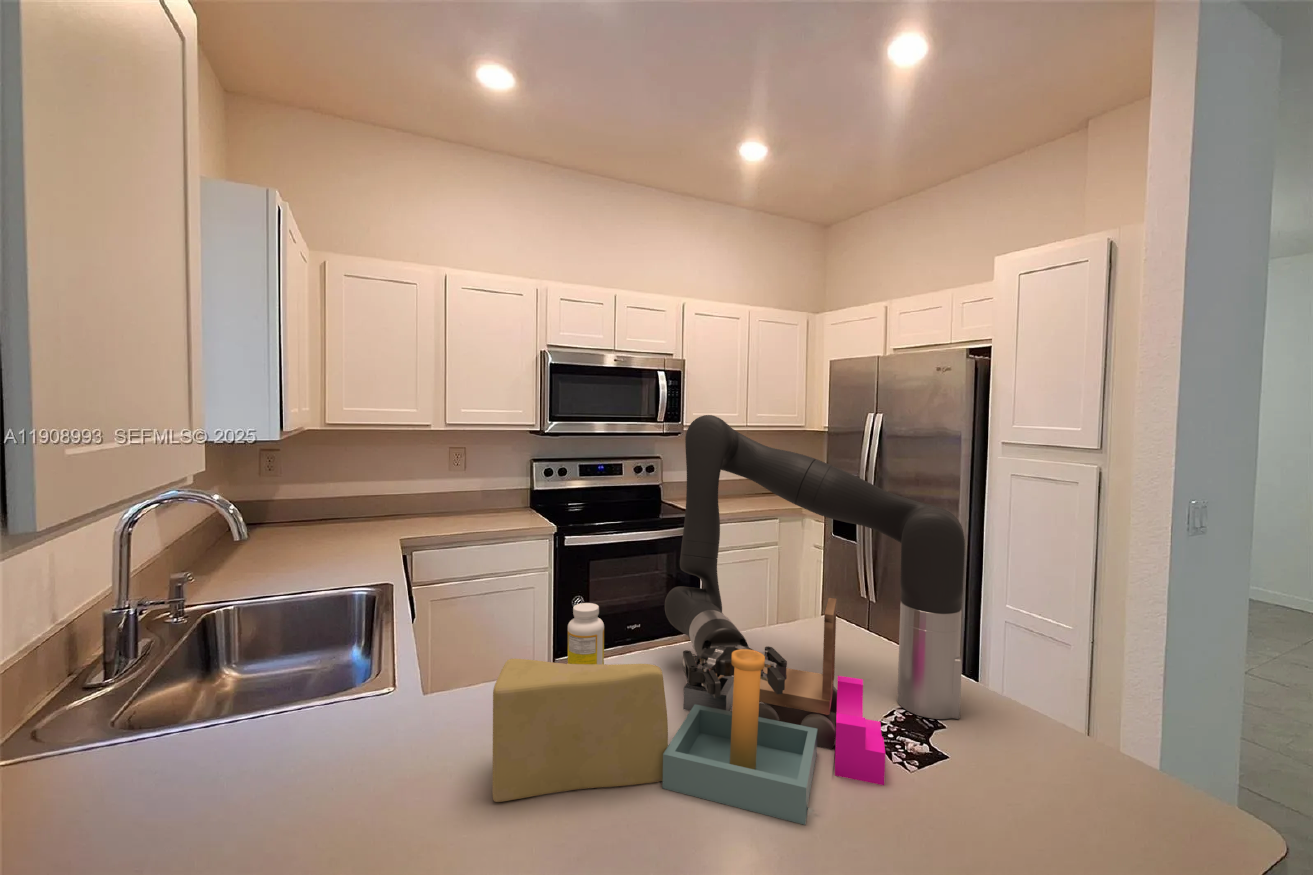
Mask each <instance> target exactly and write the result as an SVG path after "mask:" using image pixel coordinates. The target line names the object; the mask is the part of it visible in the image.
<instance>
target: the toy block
mask: <svg viewBox="0 0 1313 875" xmlns="http://www.w3.org/2000/svg"><path fill="white" fill-rule="evenodd" d="M836 684H837V686H836V689H837V712H836V713H835V714H836V717H835V718H836V719H835V720H836V721H835V725H836V726H835V731H836V737H835V750H834V776H836V777H840V778H845V779H850V780H854V781H855V780H856V781H860V782H864V783H865V782H866V783H870V784H876V785H880V786H885V775H886V774H885V772H886V769H885V768H886V748H885V740H884V736H882V725H881V721H880V720H879V721H878V720H873V719H867V718H866V717H865V716H863V715H864V714H863V713H864V712H863V710H864V707H863V706H864V705H863V704H864V701H863V700H864V693H863V692H864V679H863V678H858V677H850V676H843V675H837V683H836Z"/></svg>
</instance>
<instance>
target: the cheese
mask: <svg viewBox="0 0 1313 875" xmlns="http://www.w3.org/2000/svg"><path fill="white" fill-rule="evenodd" d="M668 720H669V719H668V710H667V701H666V693H665V682H664V675H663V671H662V668H660V667H659V666H658V665H655V664H651V663H650V664H649V663H627V664H626V663H625V664H624V663H623V664H621V663H620V664H619V663H617V664H615V663H614V664H612V663H611V664H608V663H607V664H605V663H604V664H568V663H562V662H551V661H544V660H535V659H525V658H509V659H507V661H505V663H504V664H503V666H502V669H501V670H500V673H499V675H498V677H497V679H496V682H495V683H494V687H493V691H492V780H491V781H492V791H491V792H492V800H493V801H494V802H495V803H501V802H502V803H503V802H508V801H513V800H520V799H525V798H531V797H537V796H542V795H549V794H554V793H562V792H567V791H575V790H576V791H577V790H585V789H587V790H588V789H597V788H615V787H628V786H633V785H636V786H637V785H642V784H650V783H651V784H653V783H659V782H663V754H664V752H665V750H666V749H667V747H668V746H669V725H668V724H669V722H668Z"/></svg>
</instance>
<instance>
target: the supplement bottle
mask: <svg viewBox="0 0 1313 875" xmlns="http://www.w3.org/2000/svg"><path fill="white" fill-rule="evenodd" d="M572 612H573V613H572V614H573V617H574V618H572V619H571V620H569V622H568V624H567V664H605V624H604V622H603V620H602V619H601V618H599V617H598V616H599V614H600V606H599V605H598V604H596V603H592V602H583V603H577V604H576V605H574V606H573V608H572Z"/></svg>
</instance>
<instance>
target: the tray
mask: <svg viewBox="0 0 1313 875" xmlns="http://www.w3.org/2000/svg"><path fill="white" fill-rule="evenodd" d="M731 727H732V711H731V710H730V711H726V710H721V709H716V708H711V707H706V706H701V705H696V704H695V705H694V706H693V708H692V709H691V711H690V710H689V713H688V714H687V715H686V717H685V719H684V721H683V722H682V723H681V726H680V727H679V728H678V729H677V732H676V733H675V735H674V737H672V739H671V741H670V742H669V743H668V747H667V749H666V750H665V752H664V754H663V781H662V789H664V790H668V791H671V792H677V793H679V794H684V795H688V796H691V797H696V798H700V799H704V800H707V801H711V802H715V803H719V804H723V805H727V806H730V807H734V808H738V809H742V810H745V811H749V812H754V813H757V814H761V815H765V816H769V817H774V818H777V819H781V820H785V821H788V822H793V823H796V824H800V825H804V826H806V822H807V818H808V811H809V806H808V805H809V800H810V794H811V790H812V784H813V776H814V773H815V772H814V771H815V768H816V760H817V754H818V747H817V733H818V729H816V728H811V727H806V726H801V724H795V723H790V722H785V721H781V720H780V721H776V720H771V719H766V718H761V717H758V734H757V754H756V769H755V770H754V769H749V768H745V767H741V766H737V765H732V764H730V747H731Z"/></svg>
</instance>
